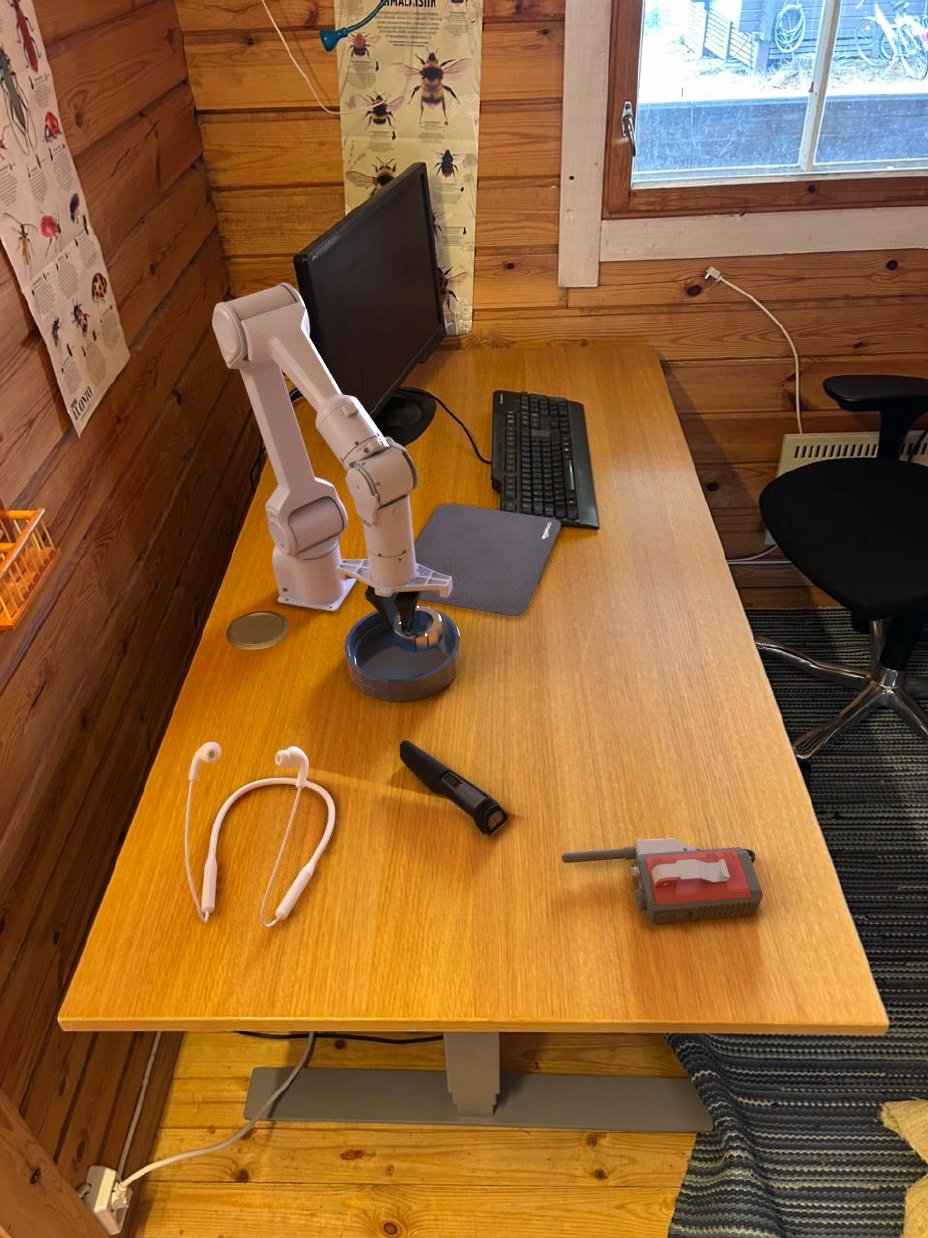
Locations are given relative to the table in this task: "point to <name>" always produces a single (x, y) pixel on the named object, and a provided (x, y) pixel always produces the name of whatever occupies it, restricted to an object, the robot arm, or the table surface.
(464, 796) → the electric trimmer
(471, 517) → the mouse pad
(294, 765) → the earphone
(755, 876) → the walkie-talkie
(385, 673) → the bowl
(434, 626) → the steel ring
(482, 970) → the table surface
